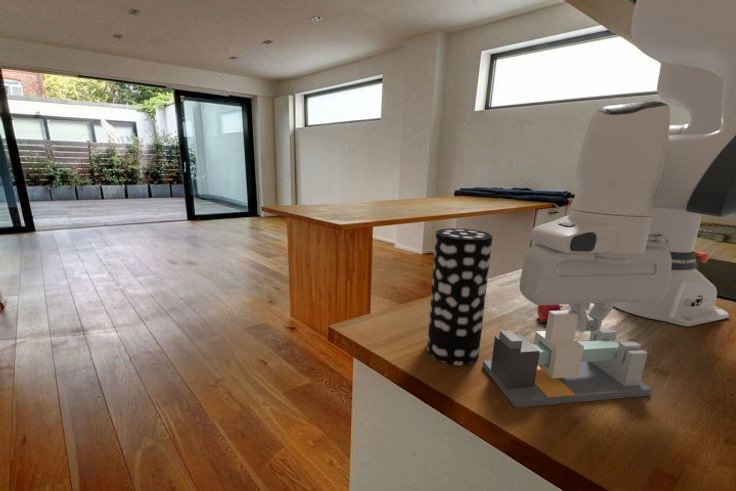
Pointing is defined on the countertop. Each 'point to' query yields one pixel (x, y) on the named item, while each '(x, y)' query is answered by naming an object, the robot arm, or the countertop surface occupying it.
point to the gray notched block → (621, 359)
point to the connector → (514, 360)
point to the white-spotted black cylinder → (458, 294)
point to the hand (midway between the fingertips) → (585, 329)
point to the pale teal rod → (584, 351)
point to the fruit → (546, 311)
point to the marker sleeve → (561, 344)
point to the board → (569, 387)
